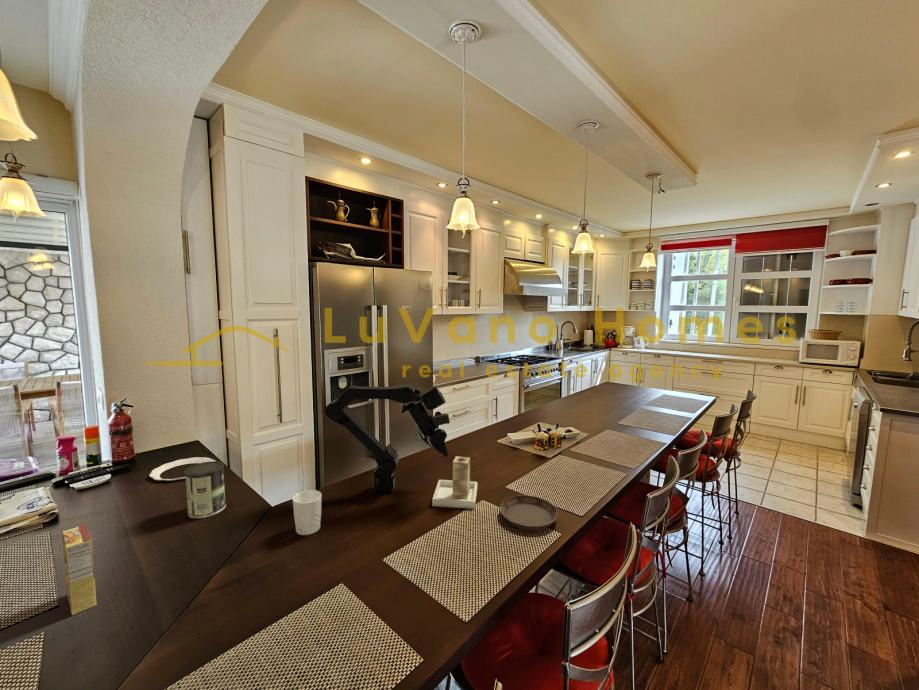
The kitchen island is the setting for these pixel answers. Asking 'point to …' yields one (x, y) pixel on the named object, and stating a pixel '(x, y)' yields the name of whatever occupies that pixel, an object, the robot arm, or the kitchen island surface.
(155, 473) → the plate
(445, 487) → the tray
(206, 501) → the coffee can
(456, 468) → the maple block
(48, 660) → the kitchen island surface
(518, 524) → the plant saucer
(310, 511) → the white cup
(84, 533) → the candy box
